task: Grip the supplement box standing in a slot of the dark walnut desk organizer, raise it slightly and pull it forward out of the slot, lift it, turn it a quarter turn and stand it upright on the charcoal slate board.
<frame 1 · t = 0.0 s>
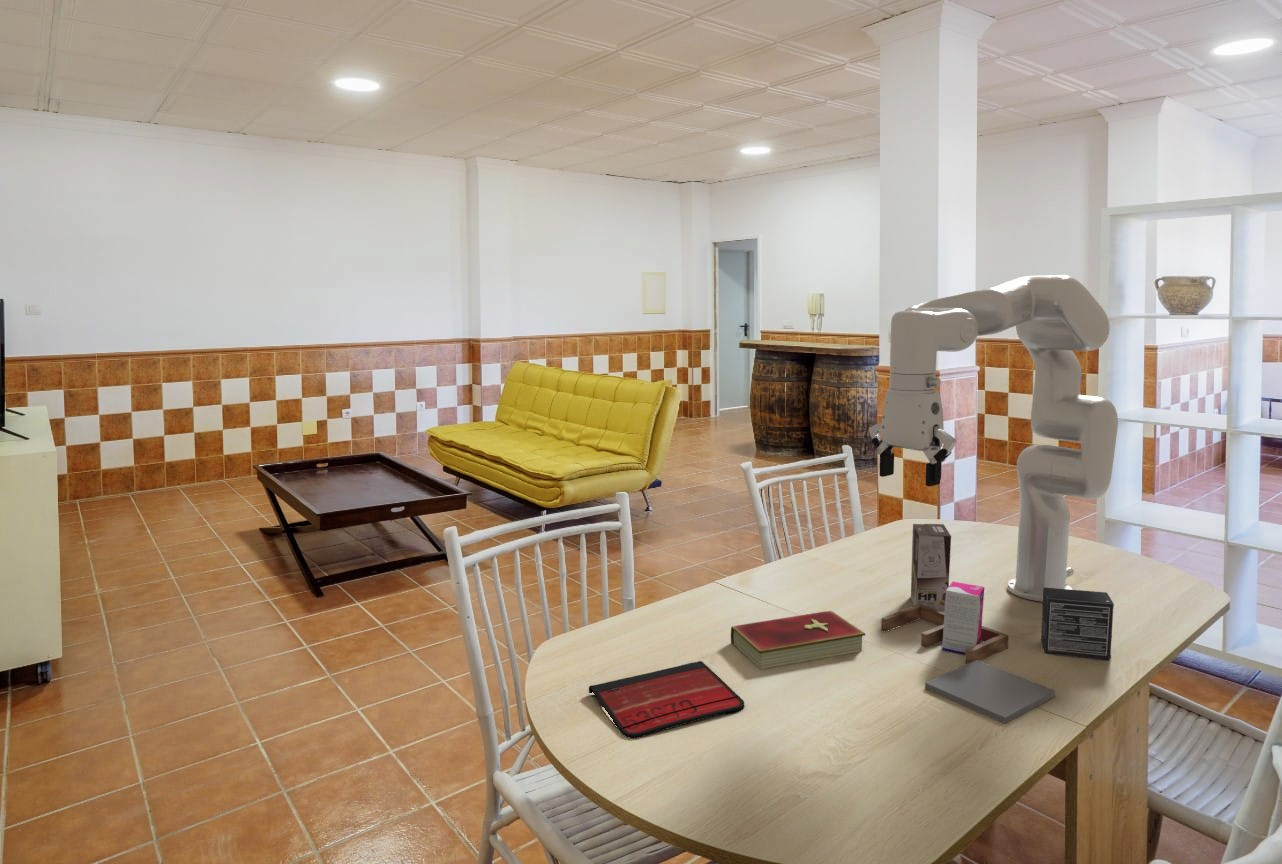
hand: (909, 480, 145), 31 cm above the table, tool pointing down, fingers open, 9 cm apart
supplement box: (961, 649, 149), on the table
coffee box: (928, 605, 170), on the table
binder: (667, 706, 133), on the table
small box: (1074, 651, 148), on the table
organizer: (940, 639, 153), on the table
slate board: (989, 692, 133), on the table
hardcover book: (796, 650, 152), on the table
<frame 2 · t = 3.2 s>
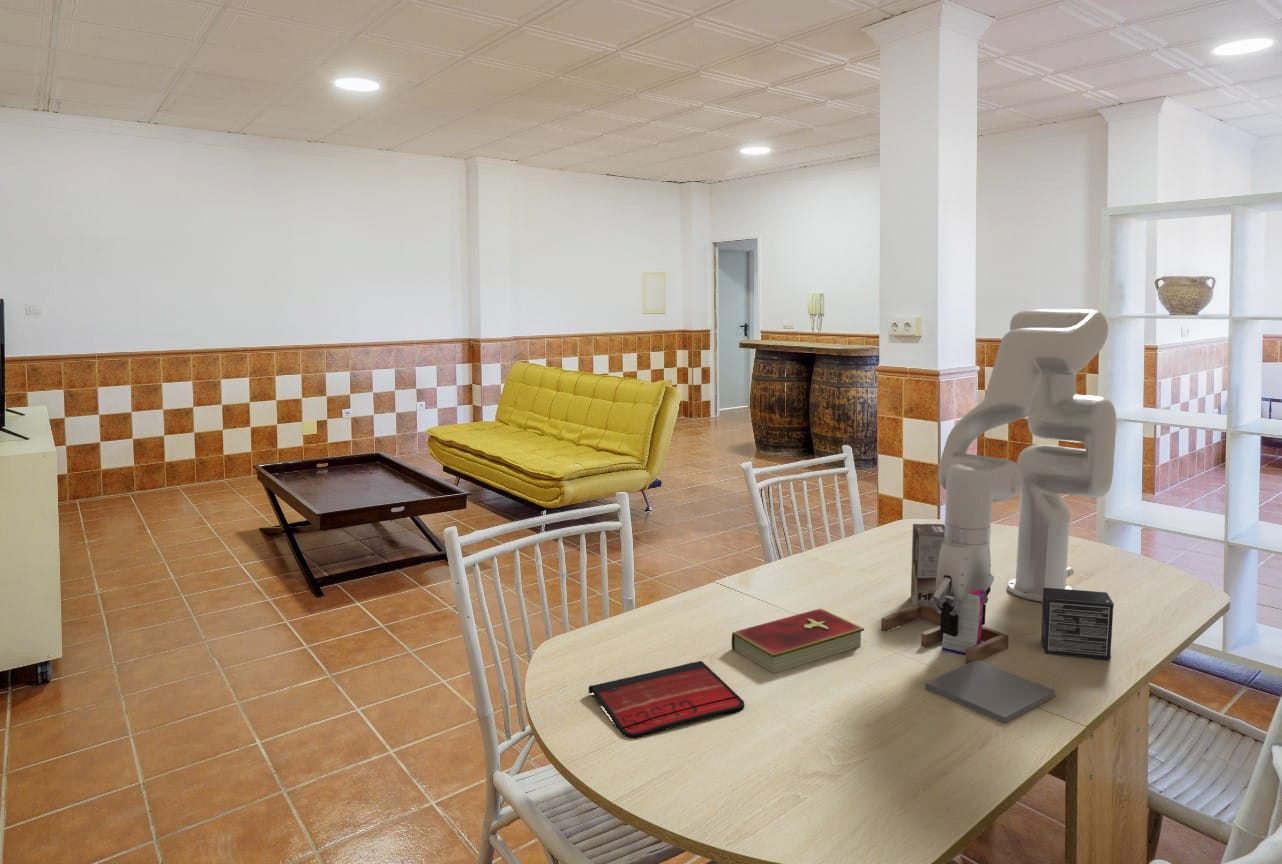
hand: (962, 627, 149), 4 cm above the table, tool pointing down, fingers closed on supplement box, 7 cm apart
supplement box: (961, 649, 149), on the table, touching gripper
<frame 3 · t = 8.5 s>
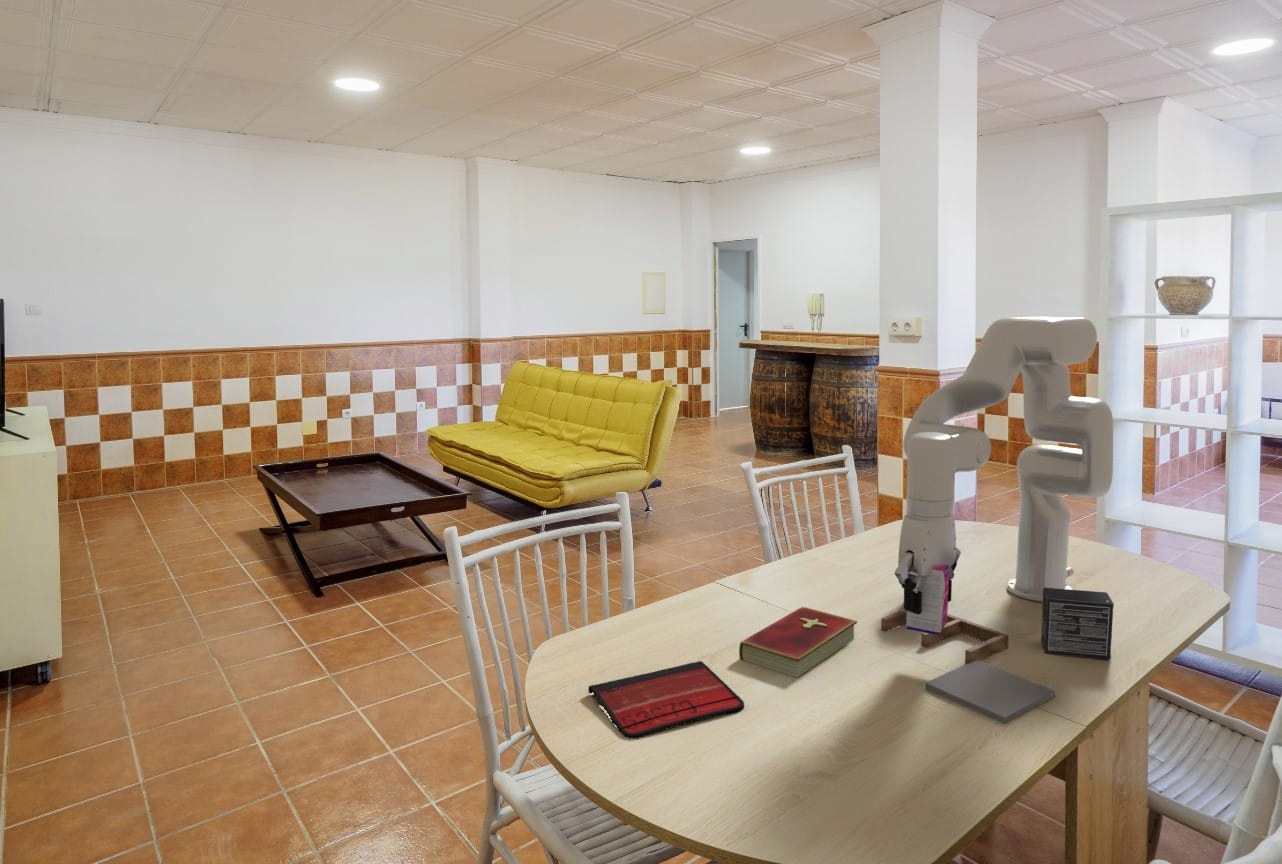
hand: (927, 604, 142), 11 cm above the table, tool pointing down, fingers closed on supplement box, 7 cm apart
supplement box: (927, 627, 143), point 7 cm above the table, touching gripper
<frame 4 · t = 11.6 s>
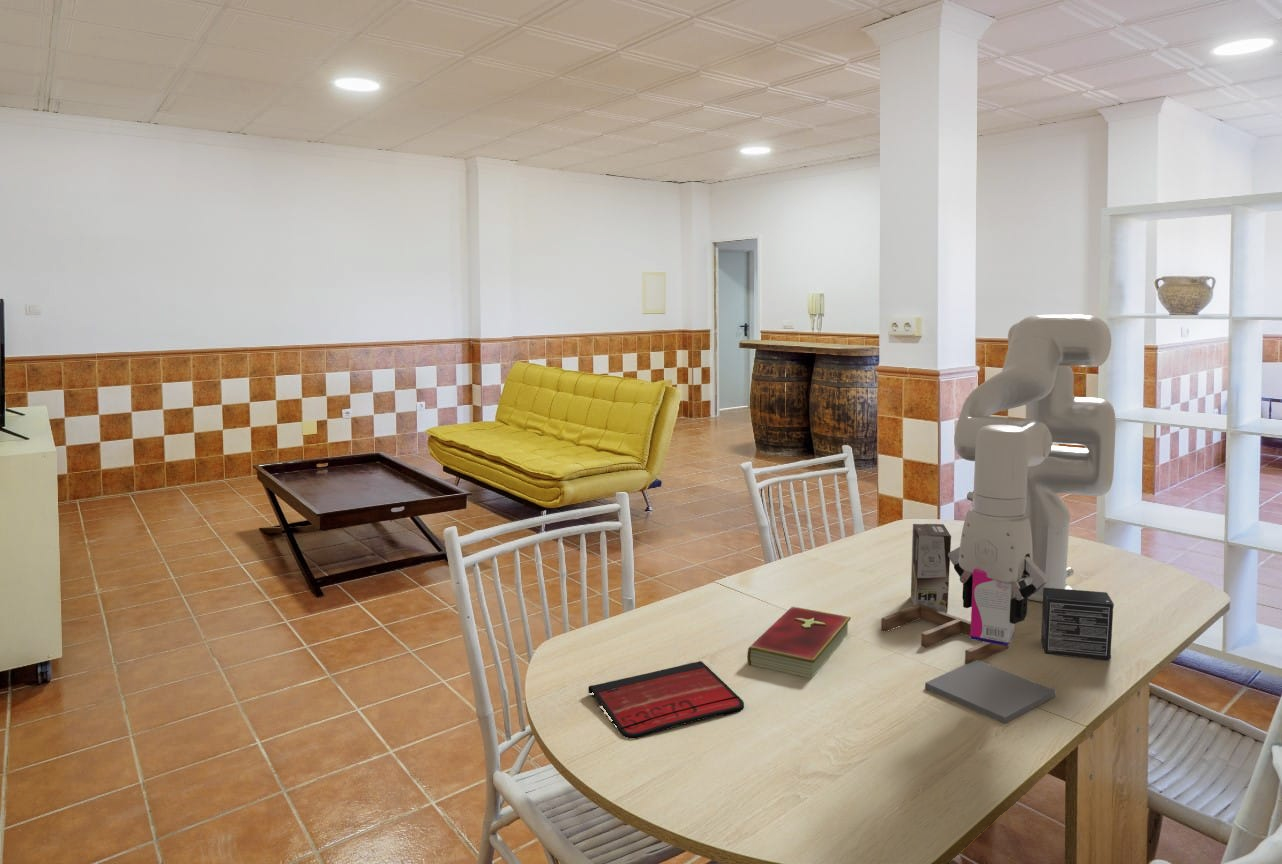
hand: (993, 612, 131), 13 cm above the table, tool pointing down, fingers closed on supplement box, 7 cm apart
supplement box: (991, 637, 131), point 9 cm above the table, touching gripper
when the fingers open (6 cm above the table, at t = 14.2 s): supplement box drops 1 cm, resting on slate board.
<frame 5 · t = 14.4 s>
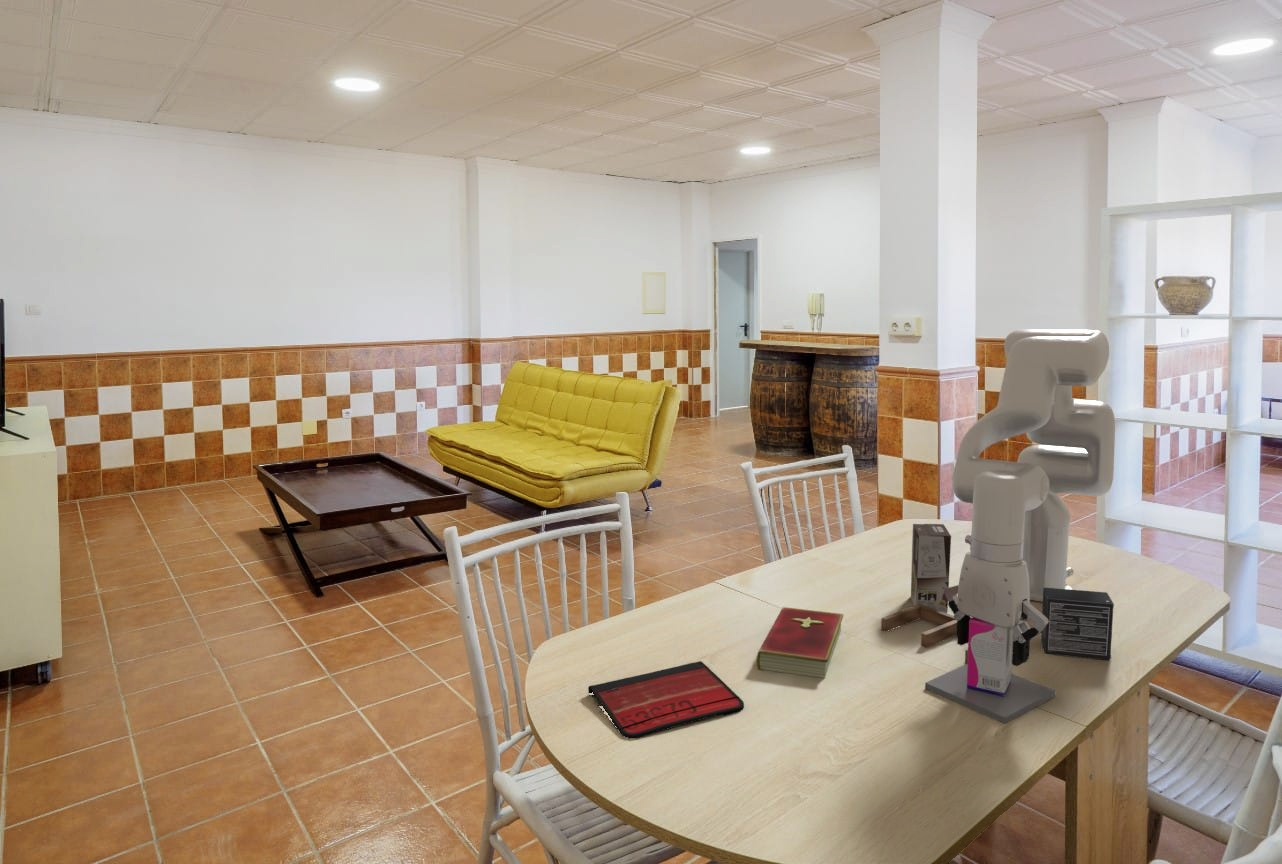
hand: (991, 652, 132), 7 cm above the table, tool pointing down, fingers open, 9 cm apart
supplement box: (988, 686, 133), point 1 cm above the table, touching slate board
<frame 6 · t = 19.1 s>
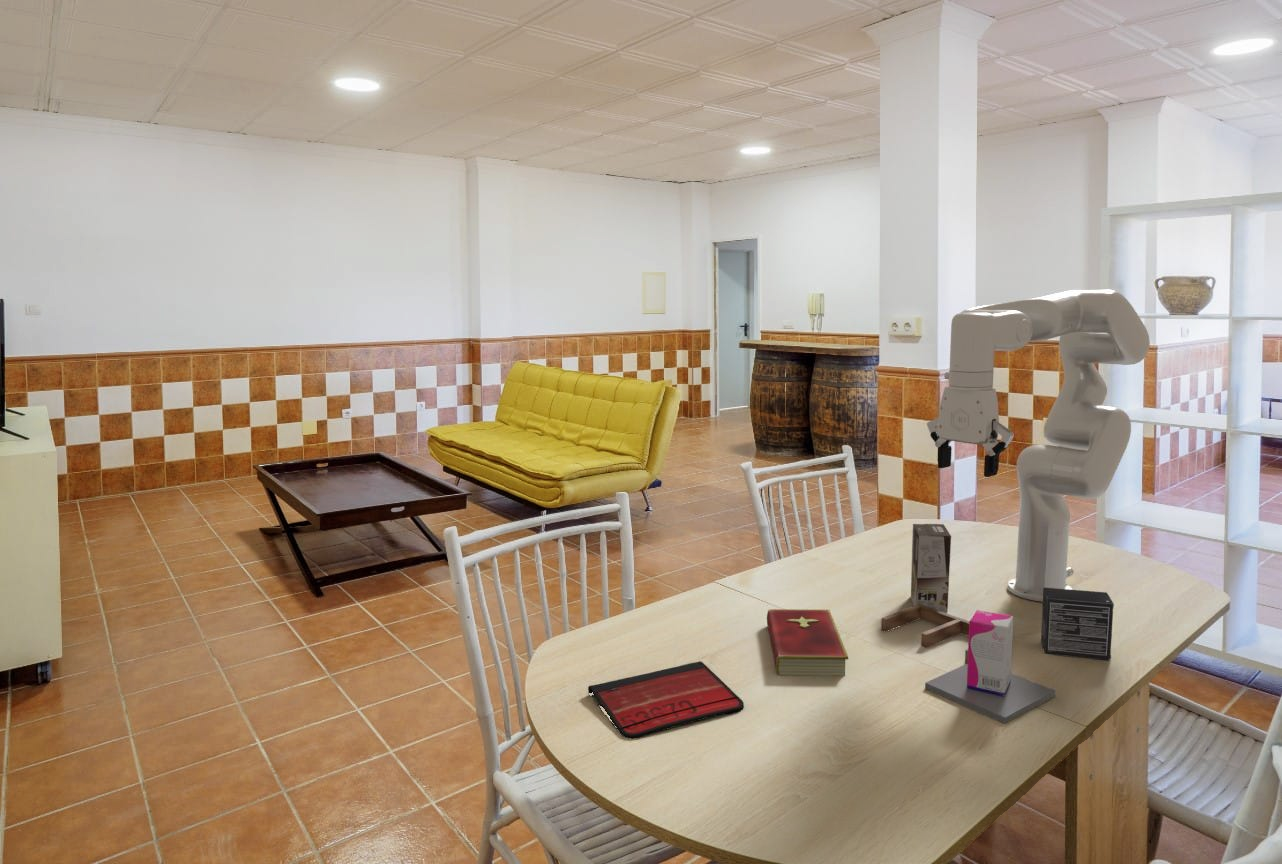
hand: (966, 471, 155), 30 cm above the table, tool pointing down, fingers open, 9 cm apart
at the end: supplement box inside the target area on the slate board (0.4 cm from its centre), point 0.8 cm above the slate board's base; supplement box tilted 0°; the gripper is holding nothing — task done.
